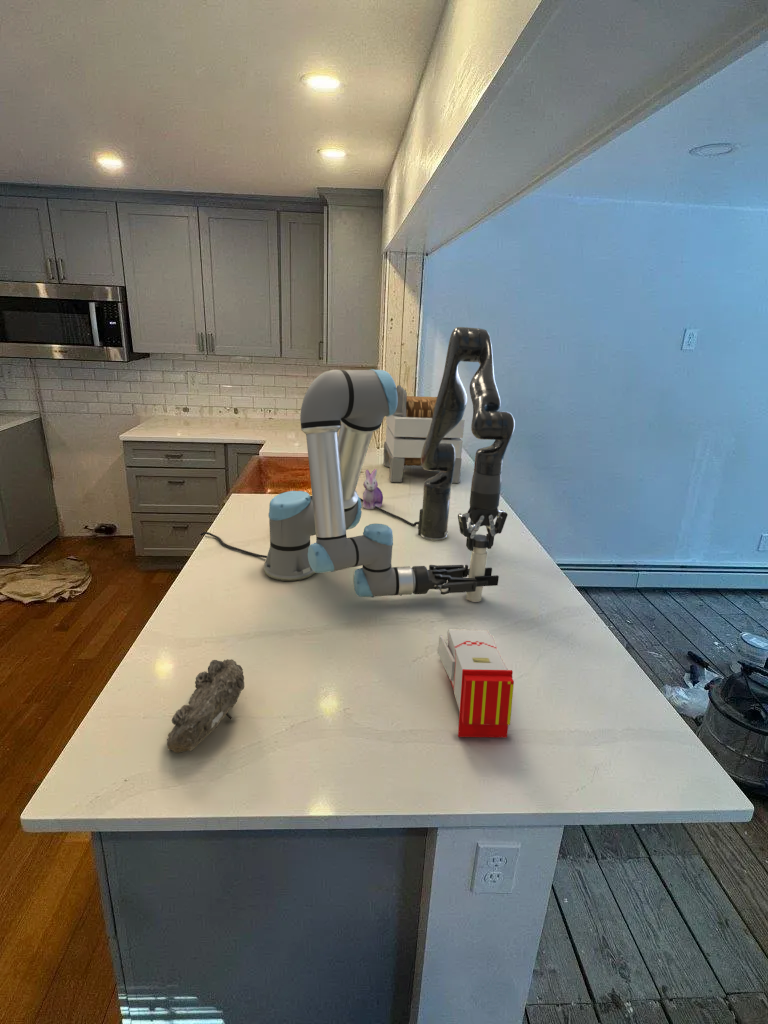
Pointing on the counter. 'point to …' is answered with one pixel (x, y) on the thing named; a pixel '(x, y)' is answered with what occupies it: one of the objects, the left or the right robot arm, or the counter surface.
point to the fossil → (206, 705)
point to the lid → (481, 541)
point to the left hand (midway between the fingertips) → (494, 576)
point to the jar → (477, 571)
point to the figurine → (371, 491)
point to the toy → (478, 682)
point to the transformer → (415, 435)
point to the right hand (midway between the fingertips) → (479, 548)
